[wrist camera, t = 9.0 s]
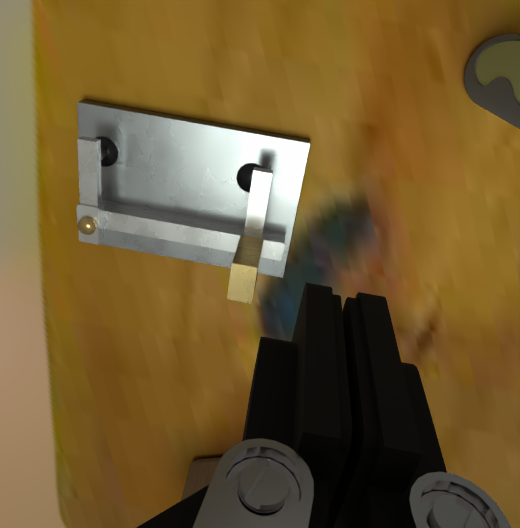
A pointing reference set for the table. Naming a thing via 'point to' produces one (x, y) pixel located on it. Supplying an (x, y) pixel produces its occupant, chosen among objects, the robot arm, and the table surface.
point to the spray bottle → (496, 77)
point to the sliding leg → (250, 239)
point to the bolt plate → (182, 184)
